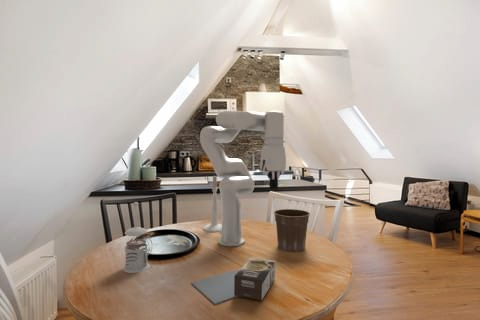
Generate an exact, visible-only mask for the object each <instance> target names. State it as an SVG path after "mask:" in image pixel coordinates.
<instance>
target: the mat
mask: <svg viewBox="0 0 480 320" xmlns="http://www.w3.org/2000/svg"><path fill="white" fill-rule="evenodd" d="M239 270H240V269H234V270H230V271H227V272H223V273H220V274H217V275H212V276H208V277H205V278H201V279H198V280H195V281H191V283H190V284H191V285H192V286H194V287H195V288H196V289H197V290H198V291H199V292H200V293H201V294H202V295H203V296H204V297H206V298H207V299H208V301H210V302H211V303H212V304H213V305H215V306H216V305H218V304H221V303H224V302H227V301H230V300H233V299H236V298H239V297H240V296H237V295H234V276H235V275H236V274H237V272H238V271H239Z"/></svg>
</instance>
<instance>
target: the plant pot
mask: <svg viewBox="0 0 480 320" xmlns="http://www.w3.org/2000/svg"><path fill="white" fill-rule="evenodd" d="M273 214H274V221H275V223H276V224H275V225H276V234H277V236H276V237H277V247H278V249H280V250H282V251H285V252H296V251H297V252H301V251H304V250H305V248H306V240H307V230H308V224H309V218H310V215H311V212H309V211H306V210H302V209H293V208H292V209H291V208H289V209H288V208H286V209H285V208H284V209H283V208H282V209H277V210H274V211H273Z"/></svg>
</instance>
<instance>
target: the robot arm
mask: <svg viewBox="0 0 480 320" xmlns="http://www.w3.org/2000/svg"><path fill="white" fill-rule="evenodd" d="M284 120H285V118H284V112H282V111H279V110H270V111H266V112H261V111H260V112H258V111H249V110H246V111H243V110H223V111H220V112H219V113H217V115H216V117H215V122H216V125H217V126H216V125H210V126H205V127H203V128H202V129H201V130H200V133H199V142H200V145H201V147H202V149H203V151H204V153H205V154H206V156H207V157H208V159H209V161H210V164H211V166H212V168H213V170H214V173H215V174H216V176H217V178H222V179H221V180H220V182H219V185H218V187H219V188H218V189H219V193H220V200H221V208H220V209H221V224H222V231H221V232H219V235H220V238H219V239H218V241H217V242H218V244H219V245H220V246H224V247H238V246H239V247H240V246H242V245H244V244H245V243H246V241H245V238H244V237H242V204H241V201H240V200H239V197H240V196H247V195H250V194H252V193H253V191H254V190H255V184H254V180H253V177H252V175H251V174H250V171H249V169H248V168H247V165H246V164H245V163H244V161H243V160H242V159H240V158H231V157H230V158H229V157H228V156H227V153H226V152H225V150H224V149H223V148H222V147H221V146H220V145H219V144H228V143H231V142H233V141H234V139H236V137H237V135H238V134H239V133H241V131H243V130H245V131H257V132H264V145H263V146H262V148H261V152H260V153H261V154H260V165H259V169H260V170H261V171H262V175H265V176H267V178H268V180H269V189H271V190H278V188H279V184H278V182H279V179H280V177H281V175H284V174H285V173H286V172H285V170H286V167H287V157H286V156H287V155H286V148H285V146H284V143H286V142H285V139H284V134H285V133H284V129H285V127H284V126H285V125H284V122H285V121H284Z"/></svg>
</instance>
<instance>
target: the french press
mask: <svg viewBox="0 0 480 320" xmlns="http://www.w3.org/2000/svg"><path fill="white" fill-rule="evenodd" d="M132 206H135V207H134V208H135V209H137V206H139V202H137V201H135V202H133V204H132ZM147 232H148V230H147V229H146V228H144V227H140V226H134V227H131V228H129V229H127V230H125V232H124V234H125V236H129V237H135V239H132V240H129V241H126V244H125V245H126V246H125V249H124V250H125V251H124V253H125V265H124V266H123V268H122V271H123V272H125V273H128V274H135V273H136V274H138V273H141V272H144V271H146V270H149V269H150V266H151V265H150V263H149V262H148V256H149V255H150V254H151V253H152V251H153V248H151V249H150V248H148V245H150V243H151V245H153V242H152V239H151V238H150V236H149V235H146V236H144V235H145V234H147ZM142 235H143V237H142V239H140V238H138V237H137V236H142ZM148 239H149V241H150V243H149V241H148Z"/></svg>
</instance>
